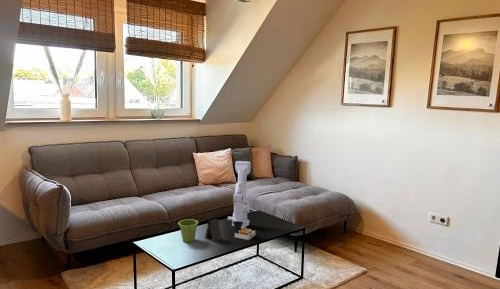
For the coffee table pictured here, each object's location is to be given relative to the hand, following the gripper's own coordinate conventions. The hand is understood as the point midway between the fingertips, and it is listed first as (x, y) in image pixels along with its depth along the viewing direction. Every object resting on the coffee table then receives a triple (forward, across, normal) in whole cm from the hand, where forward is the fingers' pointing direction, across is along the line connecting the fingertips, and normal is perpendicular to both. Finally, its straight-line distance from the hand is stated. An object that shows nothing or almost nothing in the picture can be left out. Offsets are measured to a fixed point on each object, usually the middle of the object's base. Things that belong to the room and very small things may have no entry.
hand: (238, 232), depth 232 cm
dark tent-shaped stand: (+2, -11, -13) cm, 17 cm away
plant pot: (+2, -22, -22) cm, 32 cm away
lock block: (+2, +5, 0) cm, 5 cm away
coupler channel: (+2, +5, 0) cm, 5 cm away
